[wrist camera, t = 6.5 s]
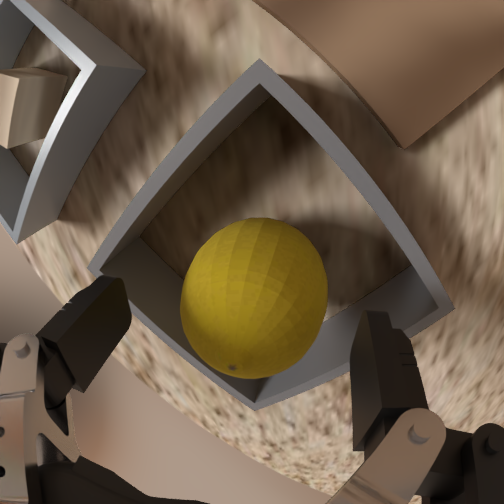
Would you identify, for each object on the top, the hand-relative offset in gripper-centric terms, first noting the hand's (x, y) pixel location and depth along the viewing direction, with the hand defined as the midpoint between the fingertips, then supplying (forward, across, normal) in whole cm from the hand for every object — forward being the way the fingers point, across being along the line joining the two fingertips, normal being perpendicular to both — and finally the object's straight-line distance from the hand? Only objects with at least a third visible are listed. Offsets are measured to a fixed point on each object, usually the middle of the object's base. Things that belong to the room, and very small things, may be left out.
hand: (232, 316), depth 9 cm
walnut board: (+6, -5, -14) cm, 16 cm away
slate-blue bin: (+7, +14, -8) cm, 18 cm away
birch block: (+7, +14, -8) cm, 18 cm away
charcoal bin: (+6, 0, +1) cm, 6 cm away
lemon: (+7, 0, +1) cm, 7 cm away
